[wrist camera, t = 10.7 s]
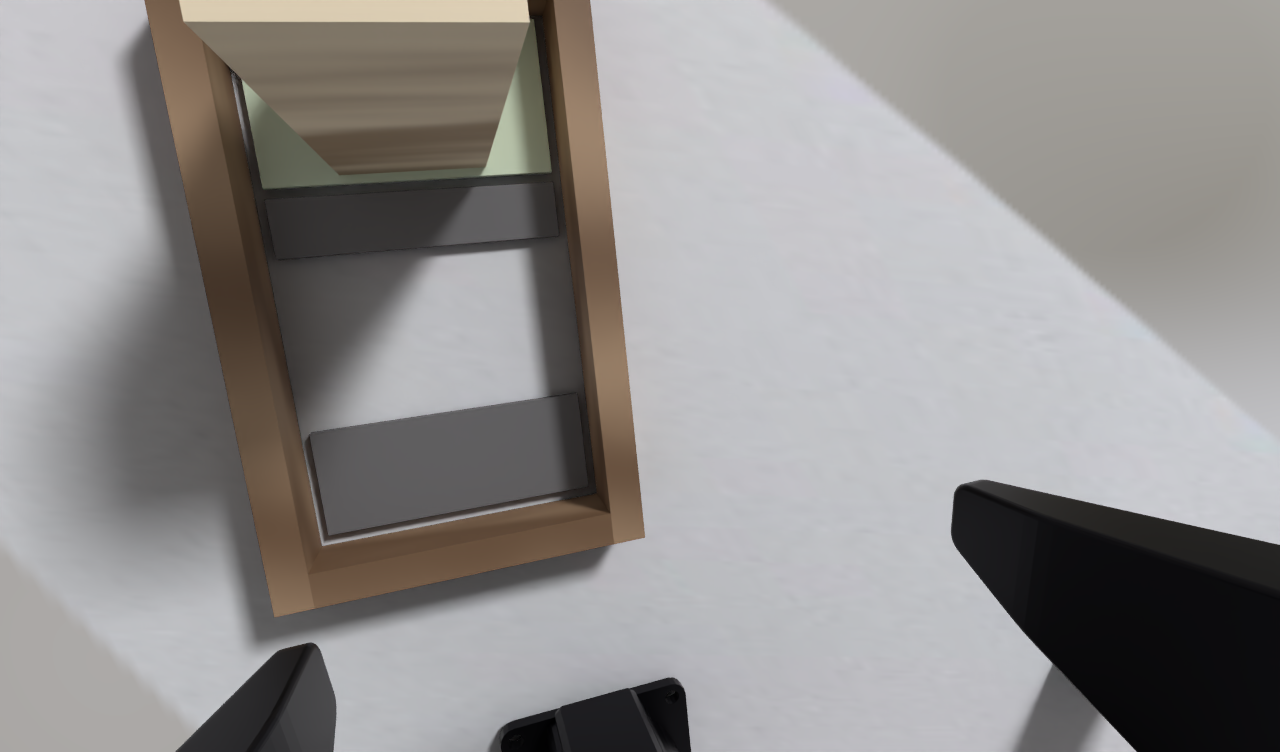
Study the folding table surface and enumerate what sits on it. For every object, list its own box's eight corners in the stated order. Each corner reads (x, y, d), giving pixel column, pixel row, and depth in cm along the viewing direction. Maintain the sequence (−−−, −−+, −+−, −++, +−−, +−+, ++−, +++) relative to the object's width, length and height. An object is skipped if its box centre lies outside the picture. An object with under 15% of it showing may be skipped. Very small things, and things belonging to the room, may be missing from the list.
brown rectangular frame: (628, 515, 22) (645, 537, 20) (291, 584, 19) (274, 617, 17) (572, -6, 19) (586, -38, 17) (170, -12, 16) (133, -51, 15)
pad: (550, 173, 20) (551, 171, 19) (265, 189, 18) (262, 188, 17) (532, 22, 19) (533, 19, 19) (233, 22, 17) (229, 17, 17)
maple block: (486, 167, 19) (529, 22, 8) (339, 175, 18) (183, 21, 7) (465, 21, 18) (487, -332, 8) (312, 20, 17) (100, -388, 7)
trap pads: (586, 483, 21) (588, 486, 21) (330, 531, 19) (328, 535, 19) (551, 183, 20) (553, 181, 20) (267, 201, 18) (264, 199, 17)
